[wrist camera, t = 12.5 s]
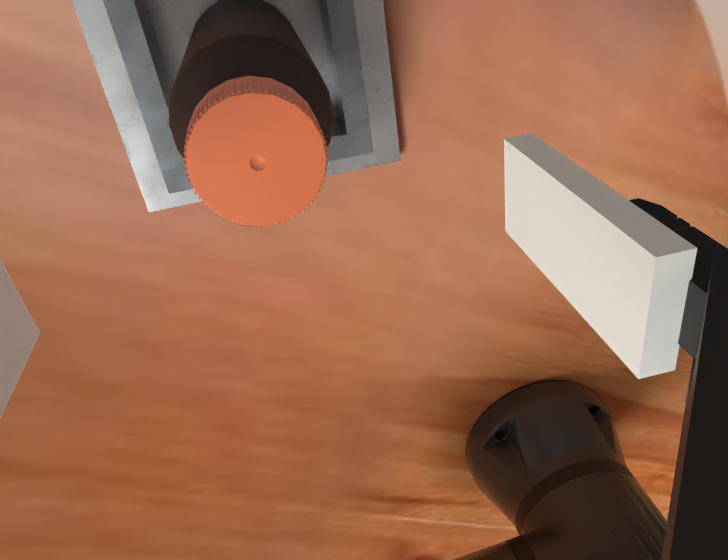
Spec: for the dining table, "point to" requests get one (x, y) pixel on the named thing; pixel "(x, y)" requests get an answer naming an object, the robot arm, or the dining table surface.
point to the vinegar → (251, 114)
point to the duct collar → (167, 48)
